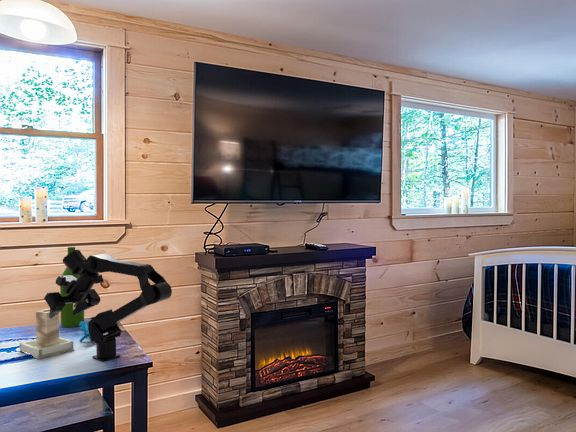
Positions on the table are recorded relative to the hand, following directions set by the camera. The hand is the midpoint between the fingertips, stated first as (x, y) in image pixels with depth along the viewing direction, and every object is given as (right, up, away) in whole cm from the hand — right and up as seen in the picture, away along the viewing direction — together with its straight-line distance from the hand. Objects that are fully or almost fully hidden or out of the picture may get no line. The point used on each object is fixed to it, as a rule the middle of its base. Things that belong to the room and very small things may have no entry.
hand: (62, 315), depth 164 cm
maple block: (-5, -11, +1) cm, 12 cm away
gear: (+5, -12, +12) cm, 18 cm away
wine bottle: (-12, -11, +34) cm, 38 cm away
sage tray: (-5, -12, 0) cm, 13 cm away
